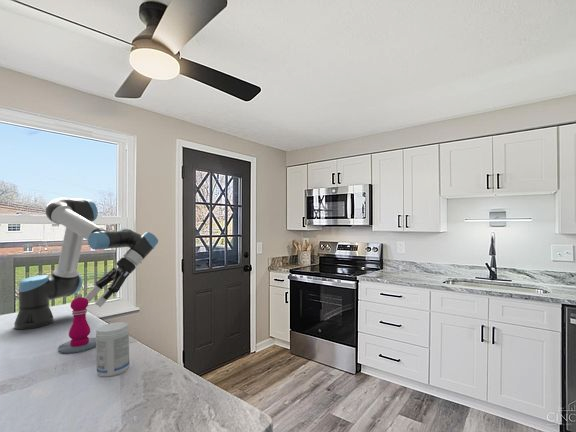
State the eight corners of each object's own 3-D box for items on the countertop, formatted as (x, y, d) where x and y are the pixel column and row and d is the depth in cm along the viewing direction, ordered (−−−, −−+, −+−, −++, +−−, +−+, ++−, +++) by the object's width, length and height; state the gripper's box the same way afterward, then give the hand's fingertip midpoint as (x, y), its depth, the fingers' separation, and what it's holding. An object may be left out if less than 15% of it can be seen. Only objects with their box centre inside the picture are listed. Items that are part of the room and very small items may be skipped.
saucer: (49, 350, 123) (49, 348, 123) (84, 338, 136) (84, 335, 136) (74, 355, 118) (74, 352, 118) (107, 342, 131) (107, 339, 131)
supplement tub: (129, 362, 111) (129, 320, 112) (129, 373, 103) (128, 328, 103) (97, 368, 107) (97, 324, 108) (94, 380, 99) (94, 333, 99)
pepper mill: (94, 340, 130) (94, 291, 131) (81, 347, 123) (81, 295, 124) (78, 340, 131) (77, 291, 132) (64, 347, 124) (64, 295, 124)
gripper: (147, 269, 135) (110, 313, 124) (124, 265, 152) (89, 302, 140) (134, 258, 131) (94, 302, 120) (112, 254, 148) (75, 293, 137)
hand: (91, 302), depth 130 cm, fingers open, 13 cm apart
